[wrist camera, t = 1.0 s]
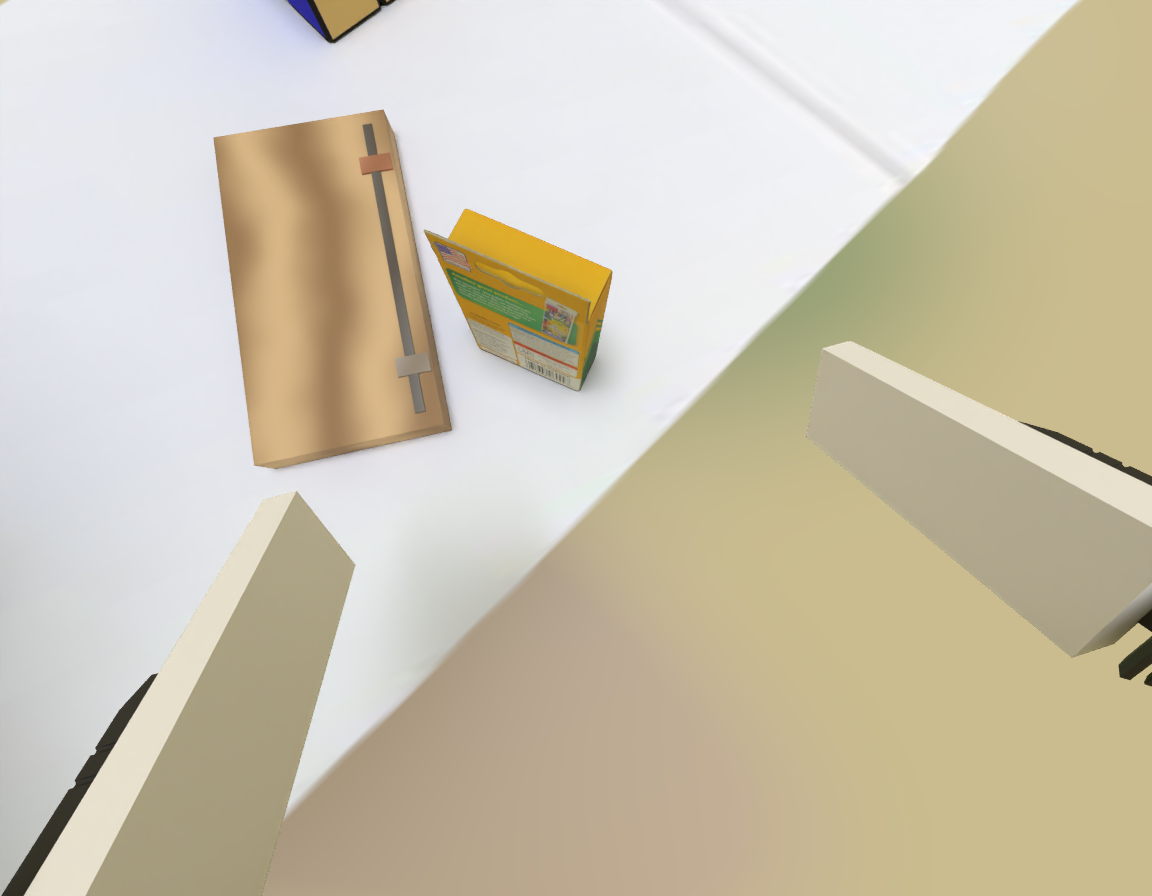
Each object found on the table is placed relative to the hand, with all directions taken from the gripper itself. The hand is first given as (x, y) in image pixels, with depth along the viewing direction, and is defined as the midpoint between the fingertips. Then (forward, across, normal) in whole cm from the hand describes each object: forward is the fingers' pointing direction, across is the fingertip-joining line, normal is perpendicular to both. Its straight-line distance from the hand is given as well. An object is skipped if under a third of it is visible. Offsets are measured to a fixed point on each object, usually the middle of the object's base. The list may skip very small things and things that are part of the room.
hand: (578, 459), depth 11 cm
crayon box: (+18, 0, -4) cm, 19 cm away
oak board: (+23, -11, +1) cm, 26 cm away
